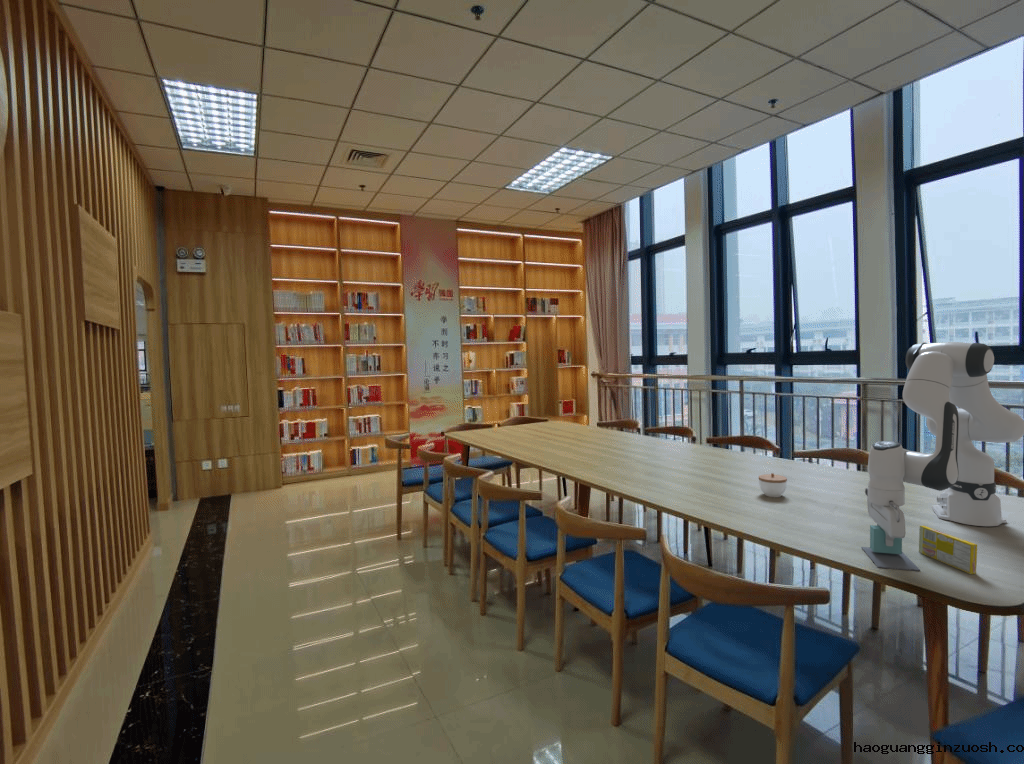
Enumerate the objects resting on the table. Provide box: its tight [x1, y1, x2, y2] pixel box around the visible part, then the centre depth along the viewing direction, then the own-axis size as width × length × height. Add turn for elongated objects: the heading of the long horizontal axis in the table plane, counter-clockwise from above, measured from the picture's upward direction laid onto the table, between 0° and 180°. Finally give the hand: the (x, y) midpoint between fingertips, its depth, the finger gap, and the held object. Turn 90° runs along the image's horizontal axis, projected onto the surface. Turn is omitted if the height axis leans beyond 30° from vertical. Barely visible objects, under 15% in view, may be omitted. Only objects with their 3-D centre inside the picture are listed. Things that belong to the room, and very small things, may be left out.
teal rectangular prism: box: [869, 524, 903, 554], centre depth 155 cm, size 4×7×7 cm, turn 71°
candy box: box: [918, 525, 978, 575], centre depth 149 cm, size 16×2×8 cm, turn 6°
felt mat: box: [861, 546, 921, 572], centre depth 152 cm, size 15×10×1 cm, turn 161°
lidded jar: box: [758, 472, 788, 498], centre depth 220 cm, size 11×11×9 cm
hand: (885, 542), depth 155 cm, fingers closed on teal rectangular prism, 3 cm apart
